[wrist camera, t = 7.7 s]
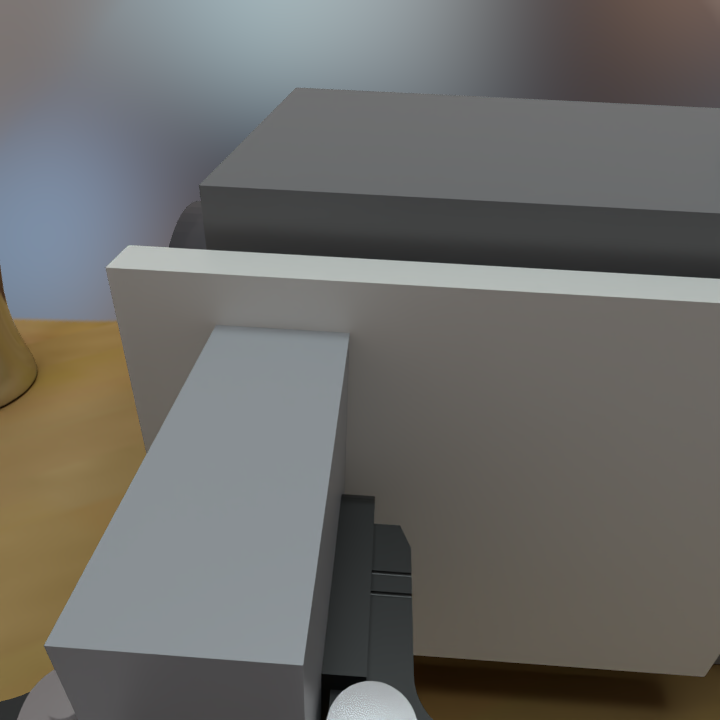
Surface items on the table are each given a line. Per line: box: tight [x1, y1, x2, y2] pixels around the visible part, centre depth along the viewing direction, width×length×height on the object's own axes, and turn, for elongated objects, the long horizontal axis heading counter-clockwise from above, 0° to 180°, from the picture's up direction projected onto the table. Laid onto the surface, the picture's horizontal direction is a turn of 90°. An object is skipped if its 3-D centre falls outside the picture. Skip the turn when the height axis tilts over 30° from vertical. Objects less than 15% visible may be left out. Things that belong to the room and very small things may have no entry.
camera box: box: [169, 88, 720, 664], centre depth 19 cm, size 21×12×15 cm, turn 87°
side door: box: [44, 245, 720, 720], centre depth 11 cm, size 14×7×11 cm, turn 87°
